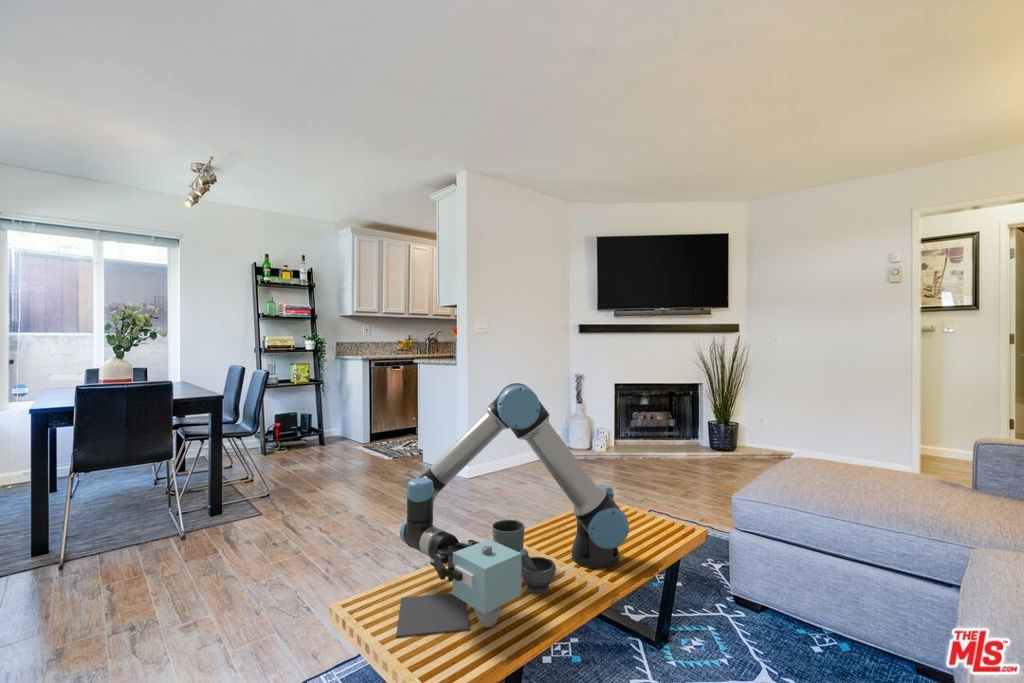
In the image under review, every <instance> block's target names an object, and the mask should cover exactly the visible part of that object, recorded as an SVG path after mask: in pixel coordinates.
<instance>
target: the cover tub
mask: <svg viewBox="0 0 1024 683" xmlns="http://www.w3.org/2000/svg"><path fill="white" fill-rule="evenodd" d="M454 566H458V567H460V568H462V569H464V570H466V571H468V572H470V573H471V574H473V575H474V587H472V588H471V587H469V586H467V585H466V584H464V583H462V582H460V581H457V580H455V579H453V581H452V592H451V593H452V594H453V595H454V596H456V597H458V598H459V599H461V600H463V601H464V602H466V604H468V605H469V606H471V607H472V608H473V607H474V608H475V609H477V610H479V611H480V612H482V613H484V614H486V613H488V612H489V611H491V610H493V609H495V608H497V607H499V606H500V607H501V606H503V605H505V604H507V603H508V602H510V601H512V600H515V599H517V598H518V597H520V596H522V576H521V553H520V552H517V551H515V550H513V549H510V548H508V547H506V546H504V545H501V544H499V543H497V542H494V540H493V539H490V538H489V539H487V540H483V541H480V543H477V544H475V545H472V546H469V547H467V548H464V549H461V550H459V551H456V552H453V569H454ZM474 608H473V609H474Z"/></svg>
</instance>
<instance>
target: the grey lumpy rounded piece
mask: <svg viewBox="0 0 1024 683" xmlns="http://www.w3.org/2000/svg"><path fill="white" fill-rule="evenodd" d="M472 608H473V610H474V613H475V615H476V617H477V620H478V623H479V624H480V626H482V627H484V628H491V627H493V626H495V625H496V624H497V622H498V620H499V614H500V612H501V609H502V608H501V606H499V607H497V608H495V609H493V610H491V611H489V612H488V613H486V614H484V613H482V612H480V611H479V610H477V609H475V608H474V607H472Z"/></svg>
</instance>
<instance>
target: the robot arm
mask: <svg viewBox="0 0 1024 683" xmlns="http://www.w3.org/2000/svg"><path fill="white" fill-rule="evenodd" d="M486 411H487V412H486V413H484V414H483V416H481V417H480V418H479V420H477V421H476V422H475V423H474V424H473V425H472V426H471V427H470V428H469V429H468V430H467V431H466V432H465V433H464V434H463V435H462V436H461V437H460V438H459V439H458V440H456V441H455V443H454V444H453V445H451V447H450V448H448V449H447V451H445V453H444V454H442V455H441V457H439V459H437V460H436V462H434V463H433V464H432V465H431V466H430V468H429V469H427V470H426V471H425V472H424V473H422V474H420V476H419V477H415V478H413V479H410V480H409V481H408V483H407V489H406V519H405V520H404V521H403V522H402V524H401V527H400V529H399V537H400V539H401V541H402V542H403V543H405V544H406V545H407V547H409V548H412V549H414V550H417V551H418V552H420V553H422V554H424V555H425V556H427V557H429V560H430V561H429V562H430V563H429V564H430V565H431V566H432V567H434V569H435V571H436V573H437V575H438V577H439V579H440V580H442V581H443V580H446V578H447V581H448V582H453V579H455V580H457V581H460V582H462V583H464V584H466V585H467V586H469V587H471V588H472V587H474V575H473V574H471V573H470V572H468V571H466V570H464V569H462V568H460V567H458V566H454V569H453V552H456V551H459V550H461V549H464V548H467V547H469V546H472V545H475V544H477V543H480V542H481V541H480V542H479V541H476V540H474V539H469V540H468V541H467V542H468V543H463V542H460V541H459V539H458V538H457V537H456V536H455V535H454V534H451V533H450V532H448V531H446V530H444V529H442V528H439V527H436V526H435V525H434V504H435V503H434V502H435V500H436V497H437V495H438V494H439V493H441V491H442V490H444V488H446V486H447V485H448V484H449V483H450V482H451V481H452V480H454V478H455V477H456V476H457V475H458V474H459V473H460V472H461V471H462V470H463V469H464V468H466V466H468V464H470V462H472V460H474V459H475V457H477V455H479V454H480V453H481V452H482V451H483V450H484V449H485V448H486V447H487V446H488V445H489V444H490V443H491V442H492V441H493V440H494V439H495V438H496V437H498V435H500V433H501V432H502V431H504V430H509V429H510V430H511V431H512V433H513V434H514V435H515V437H516V438H517V439H518V440H524V441H526V443H527V444H528V446H529V447H530V448H531V450H532V451H533V453H534V454H535V455H536V456H537V457H538V459H539V460H540V462H541V463H542V465H543V466H544V467H545V468H546V470H547V471H548V472H549V474H550V475H551V476H552V478H553V480H554V481H555V483H557V485H558V486H559V487H560V489H561V490H562V491H563V493H564V494H565V495H566V497H567V498H568V499H569V501H570V502H571V503H572V505H573V515H574V517H575V518H576V534H575V538H574V541H573V544H572V546H571V560H572V561H573V562H574V563H576V564H577V565H579V566H581V567H583V568H584V567H585V568H589V569H596V570H603V569H604V570H605V569H610V568H613V567H616V566H617V565H618V564H620V561H621V559H620V551H619V547H620V546H621V545H622V544H623V543H624V542H625V541H626V539H627V538H628V535H629V532H630V522H629V520H628V517H627V515H626V514H625V513H624V512H623V511H622V509H620V507H619V505H618V504H617V503H616V502H615V500H614V496H615V493H614V488H613V487H612V486H611V485H607V484H595V482H594V481H593V479H592V478H591V477H590V476H589V474H588V473H587V472H586V470H585V469H584V467H583V466H582V465H581V463H580V462H579V461H578V459H577V458H576V457H575V456H574V454H573V453H572V451H571V450H570V449H569V447H568V446H567V445H566V442H564V441H563V439H562V438H561V436H560V435H559V434H558V433H557V431H556V430H555V428H554V427H553V426H552V425H551V423H550V413H549V412H548V410H547V409H546V408H545V406H544V405H543V403H542V402H541V401H540V400H539V398H538V395H537V394H536V393H535V391H533V389H531V388H530V387H529V386H527V385H526V384H523V383H520V382H515V383H510V384H508V385H506V386H505V387H504V388H503V389H502V390H501V391H500V392H499V394H498V395H497V396H496V398H495V399H493V401H492V402H491V403H490V404H489V405H488V406H487V410H486ZM445 564H447V568H446V566H445Z"/></svg>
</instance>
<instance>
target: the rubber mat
mask: <svg viewBox="0 0 1024 683" xmlns="http://www.w3.org/2000/svg"><path fill="white" fill-rule="evenodd" d="M452 593H453V592H451V593H450V592H448V593H439V594H437V593H436V594H428V595H427V594H426V595H425V594H424V595H417V596H415V595H414V596H406V597H401V598H400V603H399V604H400V606H399V611H398V612H399V613H398V617H397V618H398V619H397V625H396V627H397V628H396V634H395V638H407V637H415V636H424V635H433V634H434V635H435V634H446V633H453V632H454V633H455V632H464V631H470V620H469V614H468V613H469V612H468V605H467V603H466V602H464V601H463V600H461V599H459V598H458V597H456V596H454V595H453V594H452Z"/></svg>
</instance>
